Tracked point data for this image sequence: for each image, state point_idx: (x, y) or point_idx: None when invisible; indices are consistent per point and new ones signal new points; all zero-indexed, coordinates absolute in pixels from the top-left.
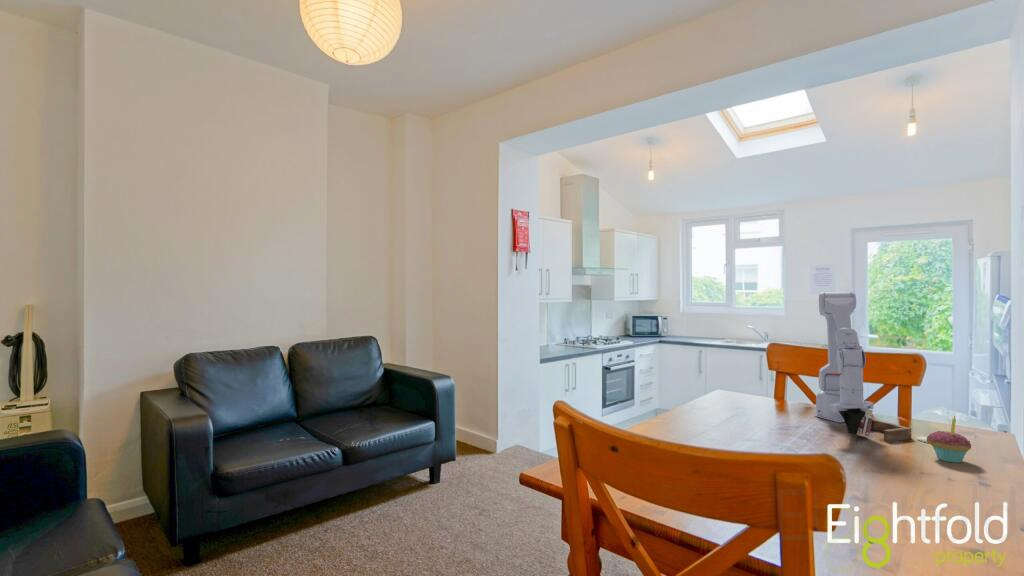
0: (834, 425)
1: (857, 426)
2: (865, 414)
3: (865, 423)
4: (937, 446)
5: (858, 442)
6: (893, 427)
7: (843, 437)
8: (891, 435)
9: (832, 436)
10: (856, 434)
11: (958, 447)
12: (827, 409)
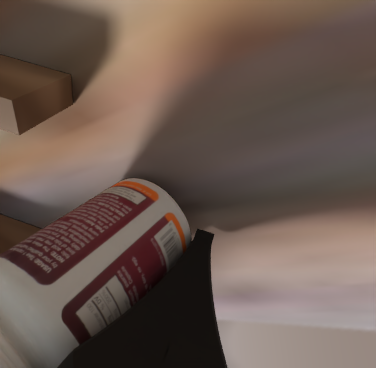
0: None
1: (187, 274)
2: (35, 338)
3: (109, 259)
4: None
5: (270, 184)
6: None
7: (231, 256)
8: (6, 77)
9: (261, 289)
10: (197, 230)
11: None
12: None
